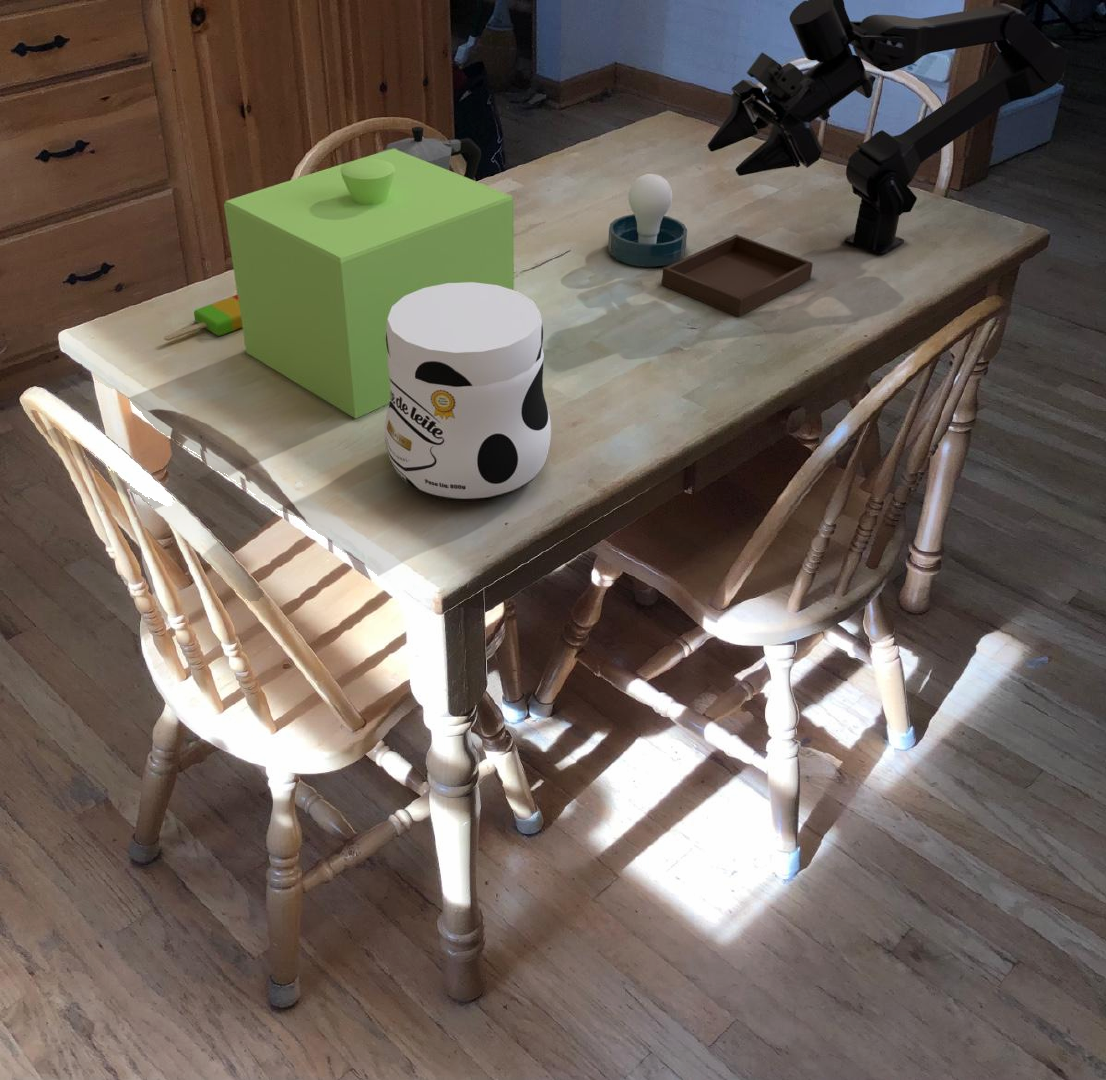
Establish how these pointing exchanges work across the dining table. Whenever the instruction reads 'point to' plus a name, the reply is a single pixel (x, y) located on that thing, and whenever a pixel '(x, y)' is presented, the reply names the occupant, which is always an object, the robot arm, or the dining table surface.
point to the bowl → (640, 254)
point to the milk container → (466, 391)
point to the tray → (737, 274)
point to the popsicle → (214, 318)
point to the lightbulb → (649, 205)
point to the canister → (357, 264)
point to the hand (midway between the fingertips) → (722, 160)
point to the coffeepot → (439, 150)
